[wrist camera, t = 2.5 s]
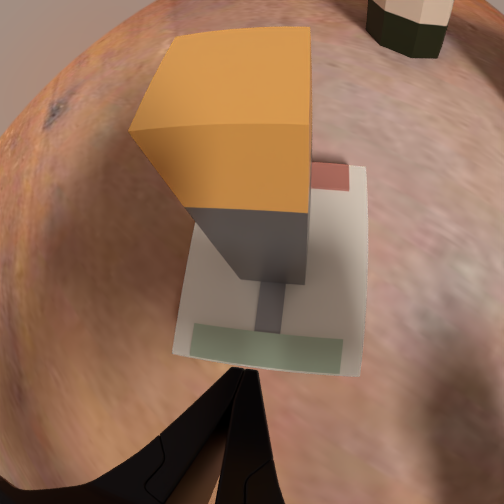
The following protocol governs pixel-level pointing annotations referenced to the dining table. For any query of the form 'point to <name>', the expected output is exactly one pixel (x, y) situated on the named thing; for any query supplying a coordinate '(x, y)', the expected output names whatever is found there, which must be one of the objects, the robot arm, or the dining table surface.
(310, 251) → the plate
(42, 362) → the dining table surface
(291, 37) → the lever
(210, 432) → the robot arm
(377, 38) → the wine bottle
